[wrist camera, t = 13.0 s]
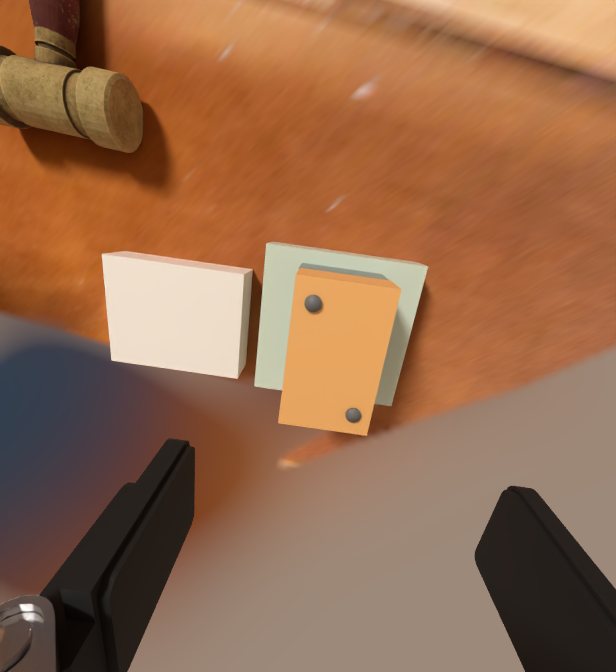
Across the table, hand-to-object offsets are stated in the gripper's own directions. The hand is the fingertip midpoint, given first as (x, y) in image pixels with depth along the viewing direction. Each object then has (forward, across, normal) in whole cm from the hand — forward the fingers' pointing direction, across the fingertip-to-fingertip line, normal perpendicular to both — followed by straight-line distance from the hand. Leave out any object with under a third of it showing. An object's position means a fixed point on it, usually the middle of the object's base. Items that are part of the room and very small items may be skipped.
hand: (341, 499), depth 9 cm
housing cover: (+13, 0, 0) cm, 13 cm away
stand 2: (+19, 0, 0) cm, 19 cm away
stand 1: (+19, +13, +1) cm, 23 cm away
